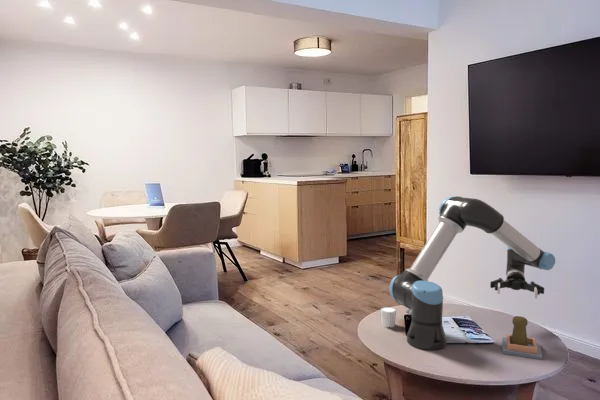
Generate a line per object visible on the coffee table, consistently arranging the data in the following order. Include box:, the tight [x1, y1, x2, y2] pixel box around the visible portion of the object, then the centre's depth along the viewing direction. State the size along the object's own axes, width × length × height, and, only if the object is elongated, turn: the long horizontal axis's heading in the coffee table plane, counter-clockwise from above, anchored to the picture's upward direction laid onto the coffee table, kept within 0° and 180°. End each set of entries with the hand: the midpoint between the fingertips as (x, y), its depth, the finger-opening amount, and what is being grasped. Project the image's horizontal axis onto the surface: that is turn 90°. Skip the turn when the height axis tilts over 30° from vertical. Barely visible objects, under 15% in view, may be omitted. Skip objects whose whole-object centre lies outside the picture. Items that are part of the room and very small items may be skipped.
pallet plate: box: [501, 334, 543, 360], centre depth 167 cm, size 13×13×3 cm
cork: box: [511, 315, 529, 346], centre depth 167 cm, size 6×6×11 cm
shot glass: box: [380, 306, 397, 328], centre depth 192 cm, size 7×7×7 cm
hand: (517, 292), depth 177 cm, fingers open, 13 cm apart
